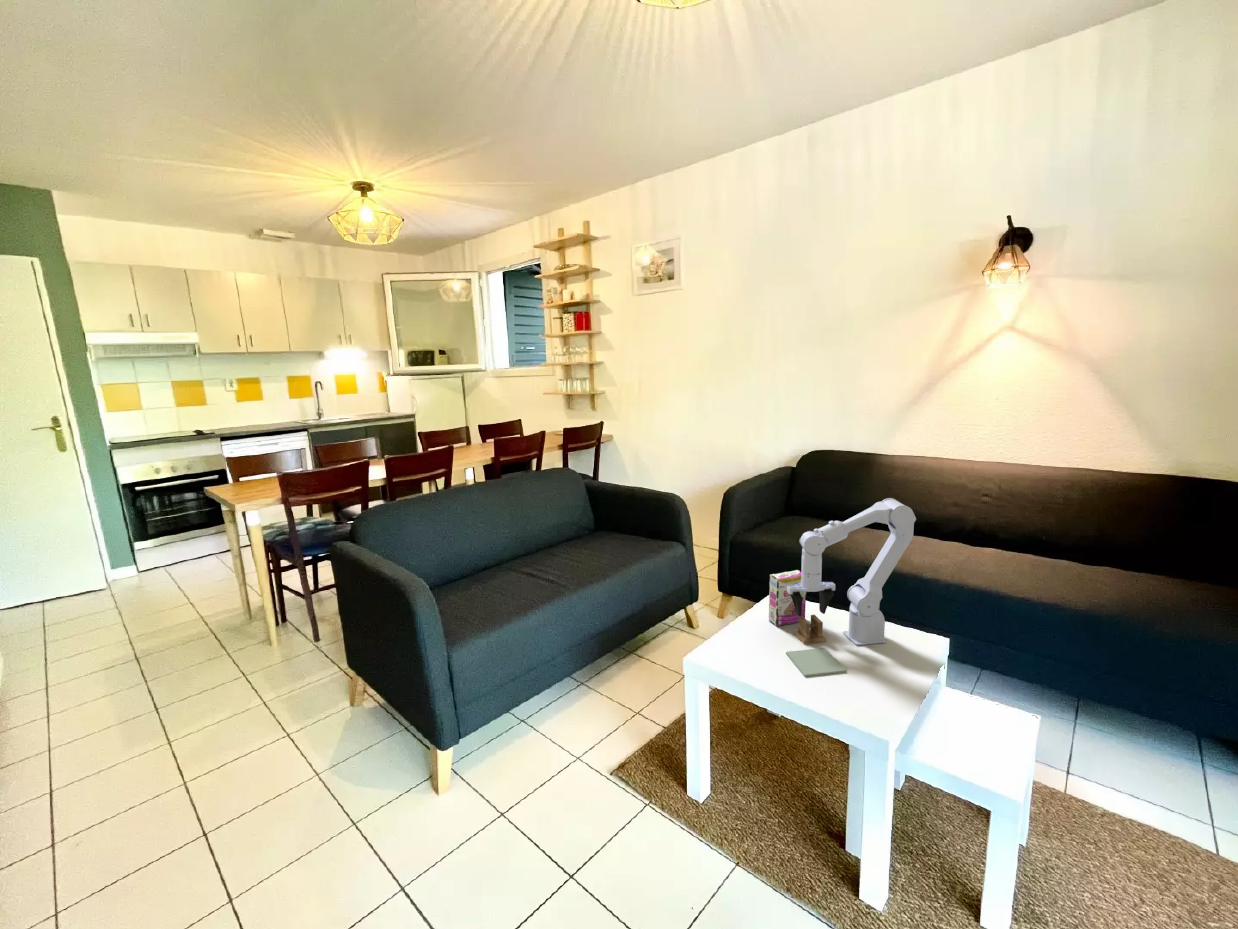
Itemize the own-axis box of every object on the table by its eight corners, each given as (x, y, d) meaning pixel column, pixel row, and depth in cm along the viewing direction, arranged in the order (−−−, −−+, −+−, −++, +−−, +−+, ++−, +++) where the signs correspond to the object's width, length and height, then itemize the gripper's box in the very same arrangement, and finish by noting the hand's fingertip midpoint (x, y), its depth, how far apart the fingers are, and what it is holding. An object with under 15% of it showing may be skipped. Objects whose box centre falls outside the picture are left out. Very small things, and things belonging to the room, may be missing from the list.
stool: (816, 633, 165) (816, 613, 164) (825, 642, 159) (826, 622, 158) (795, 635, 164) (795, 616, 163) (803, 644, 159) (804, 624, 157)
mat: (824, 649, 155) (824, 647, 155) (846, 672, 143) (846, 670, 143) (785, 653, 154) (785, 652, 154) (804, 677, 142) (804, 674, 142)
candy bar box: (777, 627, 169) (777, 579, 167) (768, 621, 174) (768, 574, 171) (806, 621, 173) (807, 574, 170) (797, 614, 177) (797, 569, 174)
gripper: (827, 564, 163) (826, 605, 165) (782, 568, 161) (782, 609, 164) (839, 573, 156) (838, 615, 158) (792, 577, 154) (792, 620, 157)
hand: (810, 613), depth 160 cm, fingers open, 7 cm apart
